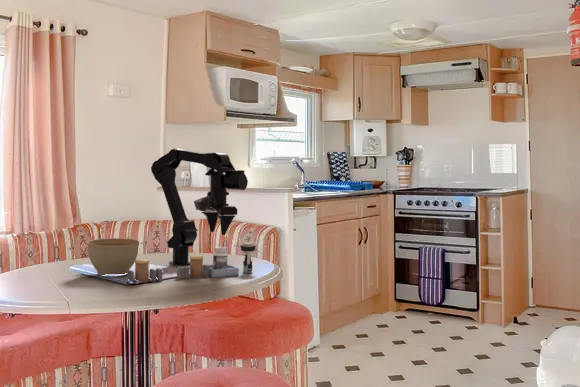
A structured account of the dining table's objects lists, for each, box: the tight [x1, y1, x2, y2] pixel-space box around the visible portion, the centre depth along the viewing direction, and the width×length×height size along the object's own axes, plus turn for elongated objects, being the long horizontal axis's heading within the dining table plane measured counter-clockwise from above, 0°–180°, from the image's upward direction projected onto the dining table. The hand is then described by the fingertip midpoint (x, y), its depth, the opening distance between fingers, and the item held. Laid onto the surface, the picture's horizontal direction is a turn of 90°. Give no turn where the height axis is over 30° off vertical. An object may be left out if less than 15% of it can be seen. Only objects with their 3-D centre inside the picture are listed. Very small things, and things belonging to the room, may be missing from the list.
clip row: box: [127, 264, 210, 282], centre depth 182 cm, size 3×26×4 cm, turn 122°
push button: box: [239, 241, 257, 274], centre depth 197 cm, size 7×5×10 cm
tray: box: [202, 263, 240, 279], centre depth 192 cm, size 9×9×2 cm
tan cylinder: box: [189, 255, 204, 279], centre depth 187 cm, size 4×4×7 cm
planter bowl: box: [86, 237, 140, 277], centre depth 186 cm, size 16×16×11 cm
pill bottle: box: [212, 246, 229, 270], centre depth 192 cm, size 5×5×8 cm
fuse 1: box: [134, 258, 150, 284], centre depth 177 cm, size 4×4×7 cm
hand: (217, 233), depth 201 cm, fingers open, 9 cm apart
